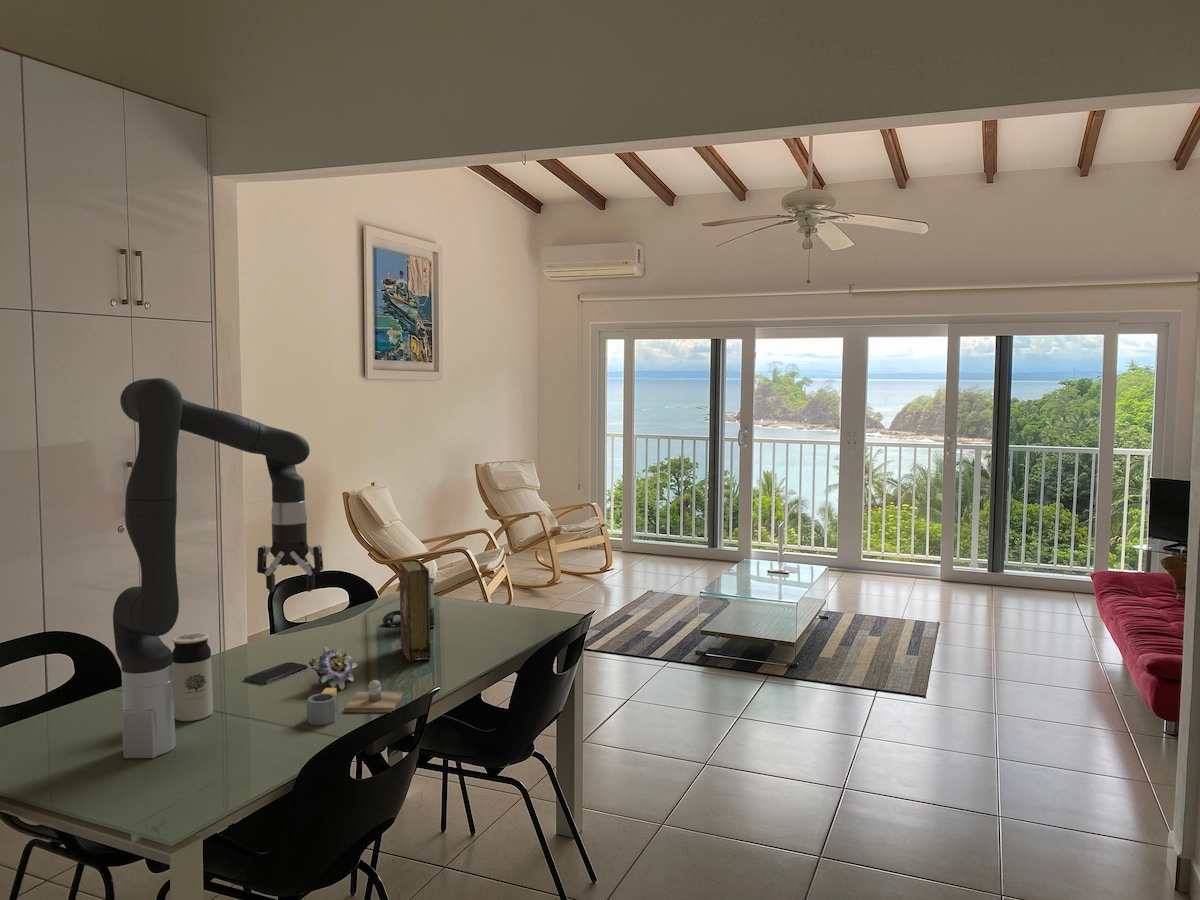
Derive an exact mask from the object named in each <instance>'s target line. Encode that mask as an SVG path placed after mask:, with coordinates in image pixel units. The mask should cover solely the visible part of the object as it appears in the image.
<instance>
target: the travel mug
mask: <svg viewBox="0 0 1200 900" xmlns="http://www.w3.org/2000/svg"><path fill="white" fill-rule="evenodd" d="M209 638H210V635H209V634H208V633H206V632H191V633H190V632H189V633H183V634H179V635H176V636H174V637H173V638H172V642H173V646H174V648H173V650H172V651H171V652H172V665H173V692H174V718H175V720H177V721H179V722H195V720H196V721H199V720H200V721H201V720H204V719H205V718H207V717H208V718H209V716H211V715H212V714H214V704H213V703H214V702H213V701H214V699H213V677H212V676H213V675H212V674H213V673H212V670H213V669H212V650H211V647H210V646H209V644H208V640H209Z"/></svg>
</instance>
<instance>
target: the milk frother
mask: <svg viewBox="0 0 1200 900" xmlns="http://www.w3.org/2000/svg"><path fill="white" fill-rule="evenodd" d="M434 581H435V578H433V577H431V576H429V602H430V627H431V626H434V625H435V624H436V622H435V621H436V619H435V593H434V591H435V589H434V588H435V586H434ZM395 616H400V610H393V611H390V612H388V613H386V614H385V615H384V616H383V617H382V623H383V625H385V626H389V625H398V626H401V620H399V621H394V617H395Z"/></svg>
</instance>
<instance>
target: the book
mask: <svg viewBox="0 0 1200 900" xmlns="http://www.w3.org/2000/svg"><path fill="white" fill-rule="evenodd" d="M398 565H399V568H398V569H399V606H400V607H399V608H400V609H399V611H400V615H399V616H400V618H399V619H400V621H401V625H400V648H401V647H402V649H403V651H404V653H405V654H406V656H407V657H408V659H409V661H412V660H415V659H418V658H431V655H432V654H431V653H432V652H431V650H432V649H431V629H430V602H429V577H430V571H429V568H428V567H427V566H426V565H425V564H424V563H423V562H422V561H421V560H420V559H402V560H399V561H398ZM402 649H401V650H402ZM403 651H402V652H403ZM404 653H403V654H404ZM405 654H404V655H405ZM406 656H405V657H406ZM408 659H407V660H408ZM409 661H408V662H409Z"/></svg>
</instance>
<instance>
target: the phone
mask: <svg viewBox="0 0 1200 900" xmlns="http://www.w3.org/2000/svg"><path fill="white" fill-rule="evenodd" d="M307 668H308V669H309V665H307V664H303V663H297V662H296V663H295V662H292V661H289V662H284V663H281V664H279V665H276V666H272V667H269V668H267V669H264V670H261V671H259V672H256V673H252V674H249V675H246V676H245V677H244V682H246V683H250V684H256V685H259V684H260V686H266V685H270V684H272V682H273V683H275V682H277V680H278V681H280V680H279V679H281V680H282V678H283V679H286V678H288V677H287V676H289V675H292V674H294V675H296V674H295V673H297V672H300V671H302V670H305V669H307ZM305 671H306V670H305ZM302 672H303V671H302ZM300 673H301V672H300ZM297 674H298V673H297ZM292 676H293V675H292ZM285 677H286V678H285ZM289 677H290V676H289ZM274 681H275V682H274ZM269 683H270V684H269Z"/></svg>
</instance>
